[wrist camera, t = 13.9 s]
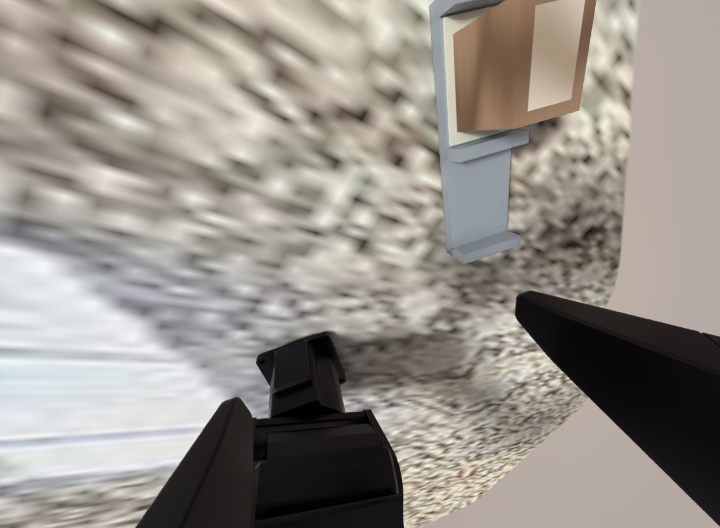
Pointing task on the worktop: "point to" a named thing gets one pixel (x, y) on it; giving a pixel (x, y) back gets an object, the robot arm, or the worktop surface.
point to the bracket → (469, 150)
